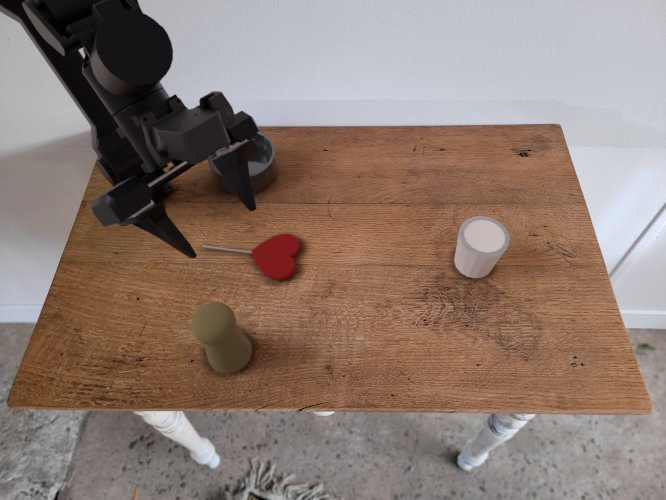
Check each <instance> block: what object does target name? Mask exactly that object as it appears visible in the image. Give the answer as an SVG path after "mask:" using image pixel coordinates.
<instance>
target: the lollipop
mask: <svg viewBox="0 0 666 500" xmlns="http://www.w3.org/2000/svg"><path fill="white" fill-rule="evenodd" d="M201 248H202V249H211V250H217V251H226V252H227V251H228V252H234V253H244V254H249V255H250V254H251V256H252V258H253V260H254V262H255V264H256V266H257V268H258V269H259V270H260V271H261V272H262V273H263V274H264V275H265V276H266V277H268V278H269V279H271V280H274V281H286V280H288V279H290V278H291V277H292V276H293V275H294V274H295V272H296V269H297V263H296V260H295V259H294V258H295V257H296V256H297V255H299V253H300V252H301V251H300V250H301V248H302V247H301V242H300V239H299V238H298V237H297V236H295V235H294V234H291V233H281V234H277V235H274V236H271V237H270V238H268V239H266V240H264V241H263V242H261V243H259V245H257V246H256V247H255V248H253V249H252V250H244V249H236V248H228V247H220V246H211V245H201Z"/></svg>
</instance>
